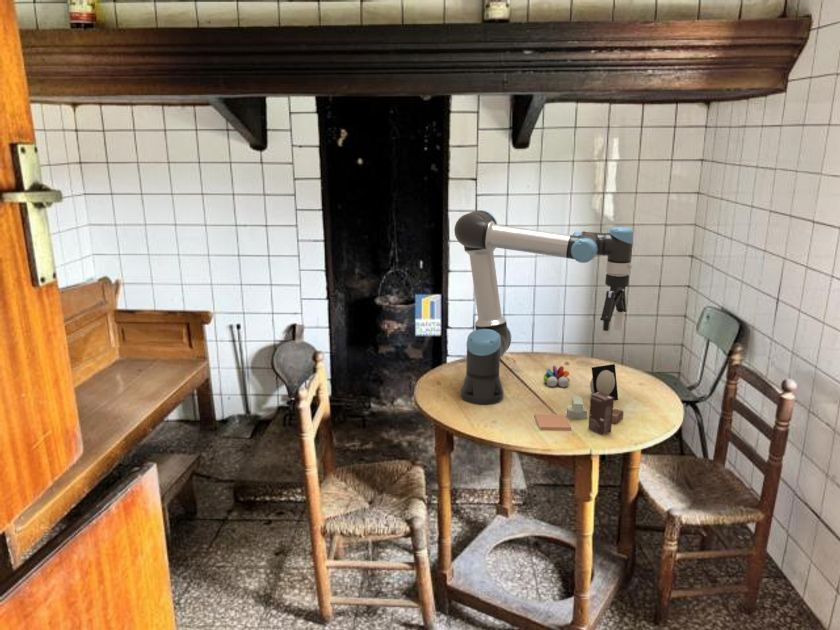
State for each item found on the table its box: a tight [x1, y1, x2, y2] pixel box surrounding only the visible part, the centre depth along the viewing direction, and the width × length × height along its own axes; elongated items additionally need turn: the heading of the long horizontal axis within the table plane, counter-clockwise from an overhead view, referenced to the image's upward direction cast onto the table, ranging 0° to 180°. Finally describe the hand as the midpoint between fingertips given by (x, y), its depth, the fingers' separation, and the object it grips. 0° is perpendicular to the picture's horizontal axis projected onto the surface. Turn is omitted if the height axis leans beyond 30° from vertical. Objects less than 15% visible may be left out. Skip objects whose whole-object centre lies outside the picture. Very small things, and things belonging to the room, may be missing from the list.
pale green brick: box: [571, 396, 584, 413], centre depth 210 cm, size 6×3×3 cm, turn 170°
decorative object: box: [589, 363, 619, 401], centre depth 226 cm, size 13×10×10 cm
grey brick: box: [566, 406, 588, 420], centre depth 211 cm, size 6×3×3 cm, turn 90°
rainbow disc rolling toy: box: [543, 365, 570, 388], centre depth 239 cm, size 8×10×7 cm
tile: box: [534, 413, 572, 431], centre depth 206 cm, size 10×10×1 cm
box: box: [588, 391, 615, 436], centre depth 200 cm, size 6×4×12 cm
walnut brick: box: [612, 408, 624, 425], centre depth 209 cm, size 6×3×3 cm, turn 141°
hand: (611, 334), depth 219 cm, fingers open, 13 cm apart
